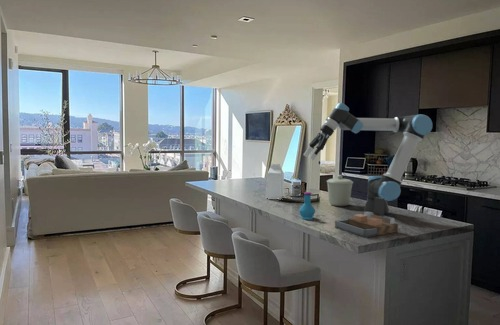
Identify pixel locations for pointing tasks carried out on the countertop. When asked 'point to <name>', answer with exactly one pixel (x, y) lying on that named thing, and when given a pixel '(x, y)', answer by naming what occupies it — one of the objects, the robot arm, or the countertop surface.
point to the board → (380, 228)
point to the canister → (339, 191)
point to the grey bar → (379, 212)
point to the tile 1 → (360, 217)
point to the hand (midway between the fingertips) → (308, 157)
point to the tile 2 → (375, 221)
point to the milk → (275, 182)
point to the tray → (355, 229)
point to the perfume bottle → (307, 207)
